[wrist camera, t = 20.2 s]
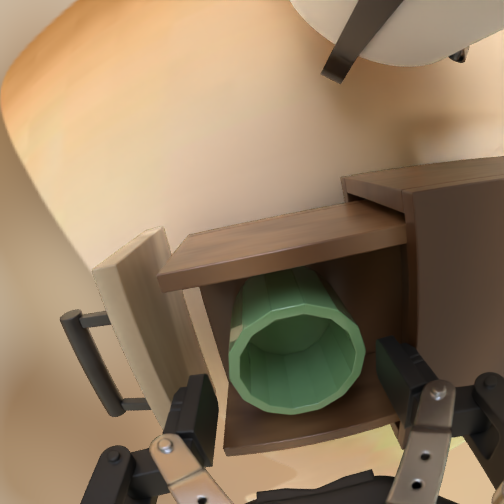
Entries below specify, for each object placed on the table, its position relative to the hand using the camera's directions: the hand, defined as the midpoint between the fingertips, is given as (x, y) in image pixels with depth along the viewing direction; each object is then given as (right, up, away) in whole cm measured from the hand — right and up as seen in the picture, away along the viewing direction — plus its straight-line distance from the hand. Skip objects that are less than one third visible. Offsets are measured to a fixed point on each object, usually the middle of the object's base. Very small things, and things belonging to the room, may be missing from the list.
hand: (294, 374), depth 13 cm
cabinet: (+13, +5, +7) cm, 16 cm away
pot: (0, +2, +6) cm, 6 cm away
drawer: (-2, +2, +7) cm, 7 cm away
